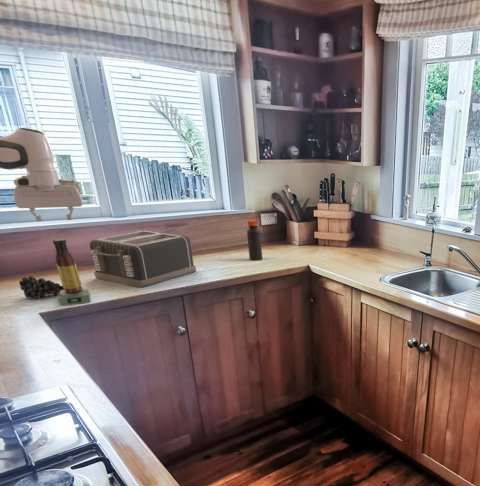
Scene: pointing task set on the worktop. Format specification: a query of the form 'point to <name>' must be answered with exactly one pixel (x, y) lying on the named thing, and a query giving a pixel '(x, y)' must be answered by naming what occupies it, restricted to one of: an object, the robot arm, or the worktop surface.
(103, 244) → the toaster
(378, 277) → the worktop surface
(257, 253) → the vinegar
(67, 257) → the sauce bottle
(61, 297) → the scale
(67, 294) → the scale pan
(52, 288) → the fruit
